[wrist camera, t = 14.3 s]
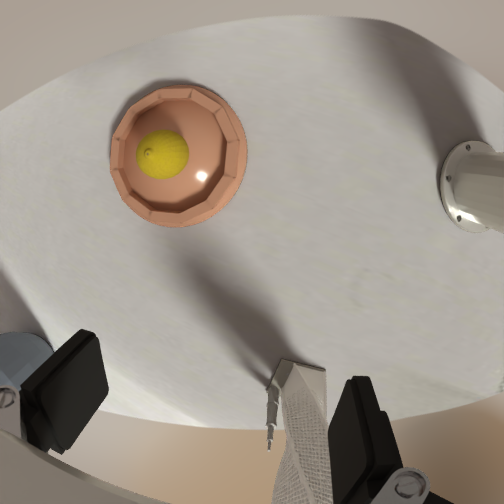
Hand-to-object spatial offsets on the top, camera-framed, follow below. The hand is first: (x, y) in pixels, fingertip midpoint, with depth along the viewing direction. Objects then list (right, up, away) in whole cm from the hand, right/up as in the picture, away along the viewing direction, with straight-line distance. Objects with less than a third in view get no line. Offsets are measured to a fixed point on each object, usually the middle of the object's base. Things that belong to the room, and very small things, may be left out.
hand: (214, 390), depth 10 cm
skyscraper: (+9, -14, +33) cm, 37 cm away
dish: (-8, +17, +26) cm, 32 cm away
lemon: (-8, +17, +25) cm, 31 cm away
